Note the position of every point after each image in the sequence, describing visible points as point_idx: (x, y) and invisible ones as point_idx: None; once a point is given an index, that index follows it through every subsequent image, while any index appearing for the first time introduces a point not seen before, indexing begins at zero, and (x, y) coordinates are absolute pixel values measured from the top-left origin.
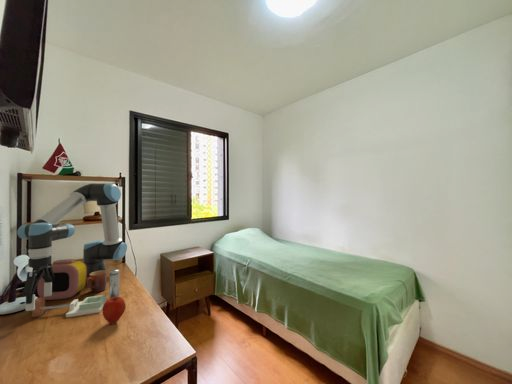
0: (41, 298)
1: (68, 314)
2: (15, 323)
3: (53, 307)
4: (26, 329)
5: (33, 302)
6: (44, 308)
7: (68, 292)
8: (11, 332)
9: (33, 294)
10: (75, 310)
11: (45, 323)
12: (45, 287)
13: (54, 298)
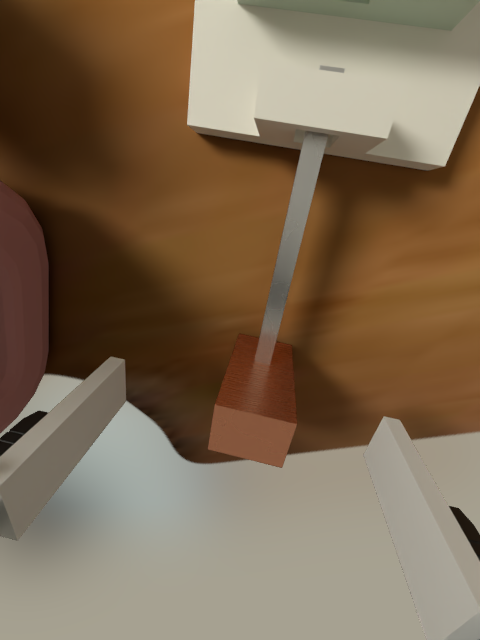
0: (237, 424)
1: (452, 141)
2: (299, 424)
3: (287, 293)
4: (432, 371)
5: (435, 490)
6: (272, 348)
7: (7, 242)
8: (411, 421)
9: (472, 618)
10: (416, 81)
11: (424, 293)
12: (64, 468)
13: (46, 322)
